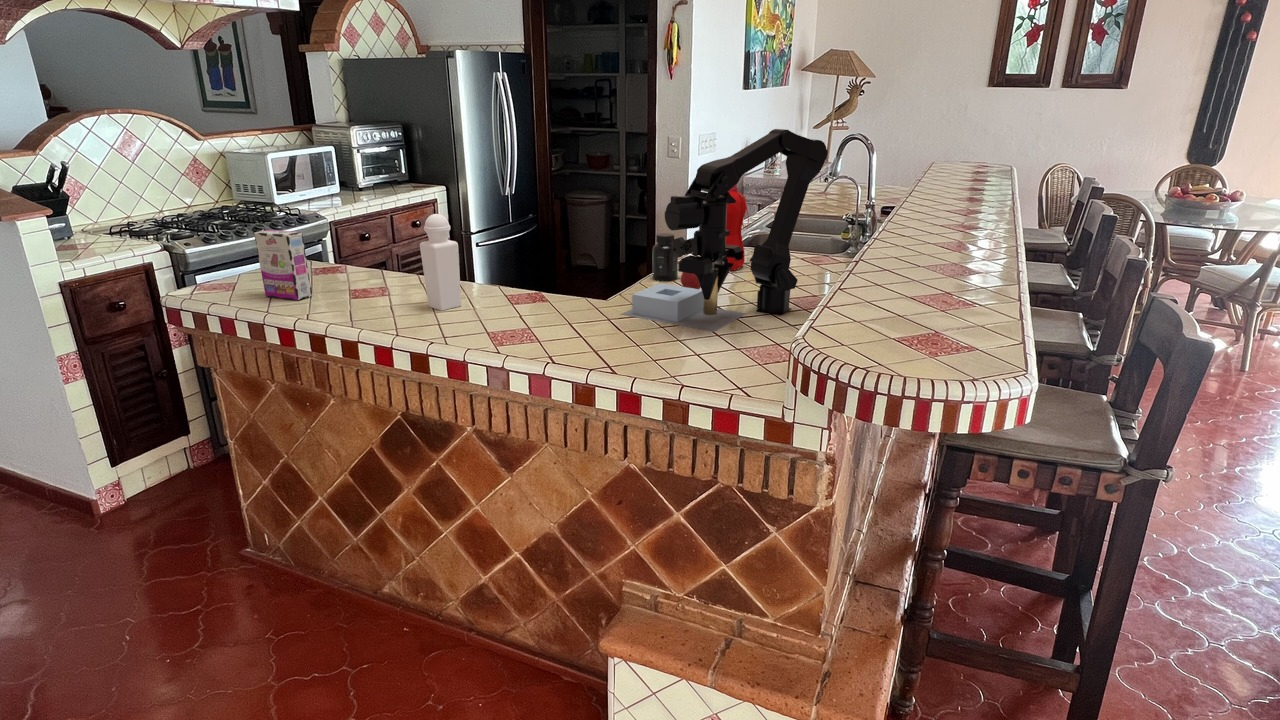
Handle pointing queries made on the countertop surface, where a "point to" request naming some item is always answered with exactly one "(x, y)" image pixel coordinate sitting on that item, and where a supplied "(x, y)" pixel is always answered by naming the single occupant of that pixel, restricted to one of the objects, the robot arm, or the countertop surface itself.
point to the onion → (690, 281)
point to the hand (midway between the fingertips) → (710, 297)
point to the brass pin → (712, 300)
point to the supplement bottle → (664, 258)
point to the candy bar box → (283, 264)
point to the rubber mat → (698, 319)
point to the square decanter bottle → (440, 264)
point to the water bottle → (736, 224)
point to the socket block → (667, 302)
